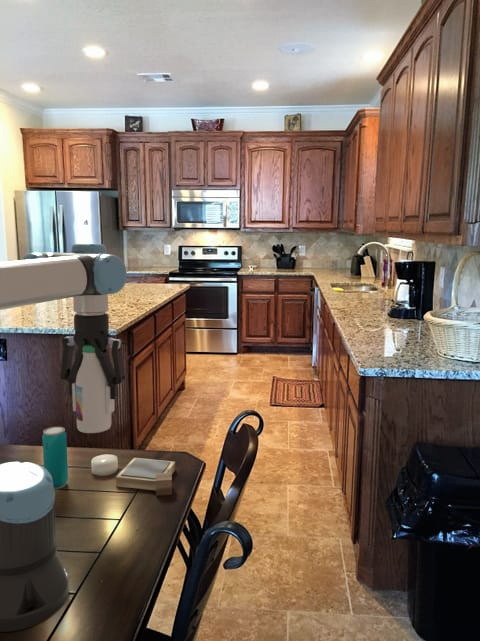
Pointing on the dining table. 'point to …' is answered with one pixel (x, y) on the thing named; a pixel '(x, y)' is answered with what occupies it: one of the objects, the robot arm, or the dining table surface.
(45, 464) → the beverage can
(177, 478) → the dining table surface
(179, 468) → the dining table surface
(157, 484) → the tan wooden block
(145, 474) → the wooden picture frame
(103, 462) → the white rounded block
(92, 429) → the milk bottle
